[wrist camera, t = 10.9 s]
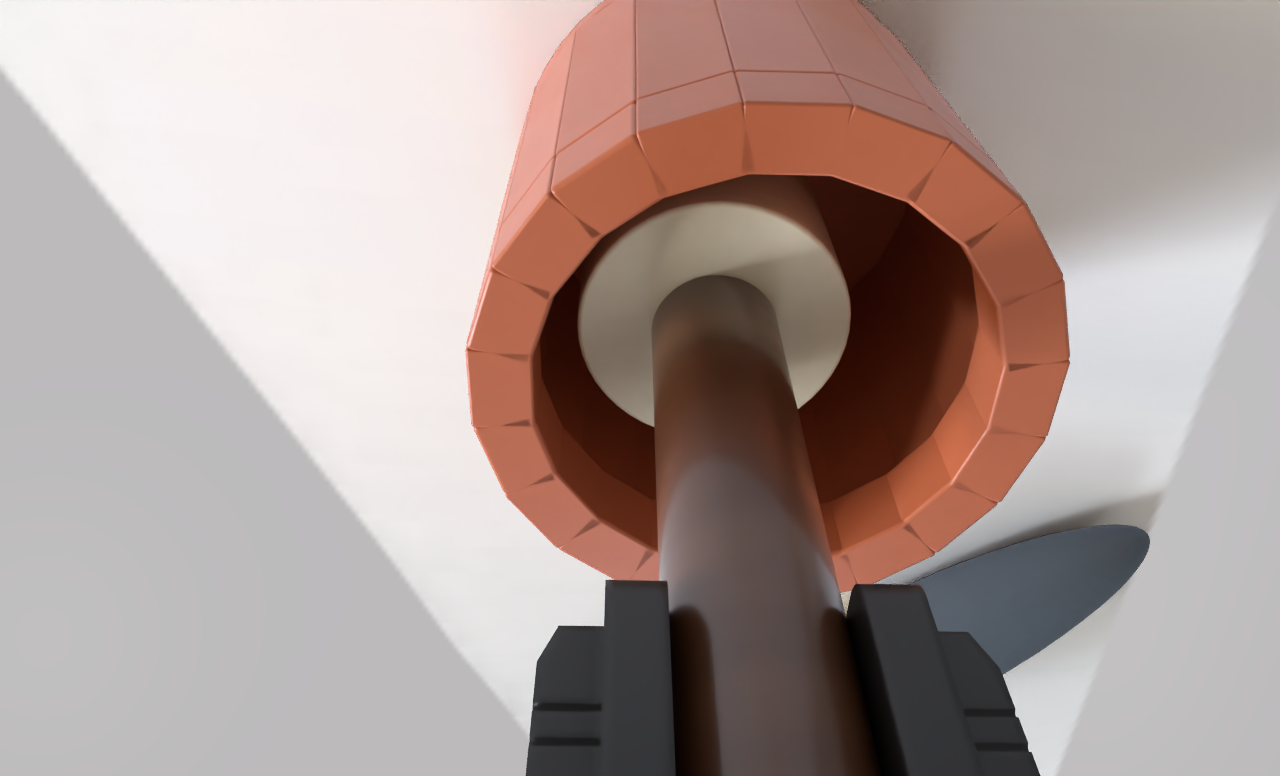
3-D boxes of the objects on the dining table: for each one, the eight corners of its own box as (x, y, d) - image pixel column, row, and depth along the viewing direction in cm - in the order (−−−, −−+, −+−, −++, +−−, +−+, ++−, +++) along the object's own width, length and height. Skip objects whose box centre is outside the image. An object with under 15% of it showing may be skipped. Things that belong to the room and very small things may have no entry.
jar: (513, -50, 23) (443, 94, 14) (961, -38, 23) (1149, 111, 15) (528, 338, 28) (485, 602, 20) (888, 344, 28) (995, 610, 20)
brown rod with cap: (584, 114, 20) (490, 963, 7) (831, 120, 20) (1227, 969, 7) (586, 327, 22) (520, 1234, 9) (803, 332, 23) (1045, 1235, 9)
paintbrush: (1080, 431, 30) (1151, 548, 26) (1146, 531, 32) (1222, 654, 28) (566, 704, 37) (557, 832, 33) (650, 771, 39) (652, 899, 35)
